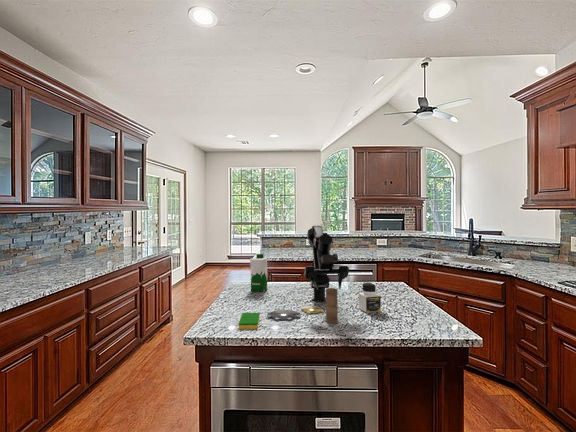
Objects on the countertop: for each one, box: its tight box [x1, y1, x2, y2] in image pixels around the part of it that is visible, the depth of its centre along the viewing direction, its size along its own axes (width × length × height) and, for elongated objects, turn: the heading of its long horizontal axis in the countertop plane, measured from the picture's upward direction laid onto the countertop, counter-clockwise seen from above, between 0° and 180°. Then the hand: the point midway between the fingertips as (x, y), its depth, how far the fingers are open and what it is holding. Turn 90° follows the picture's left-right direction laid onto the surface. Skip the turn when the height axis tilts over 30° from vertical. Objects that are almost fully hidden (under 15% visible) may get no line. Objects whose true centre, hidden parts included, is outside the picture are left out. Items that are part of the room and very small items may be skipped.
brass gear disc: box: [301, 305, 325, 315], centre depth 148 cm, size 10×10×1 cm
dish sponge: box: [238, 312, 261, 330], centre depth 133 cm, size 7×14×2 cm, turn 2°
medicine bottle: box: [358, 281, 382, 314], centre depth 148 cm, size 7×7×12 cm
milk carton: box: [249, 253, 268, 293], centre depth 188 cm, size 9×9×20 cm
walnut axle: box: [325, 287, 339, 325], centre depth 133 cm, size 4×4×13 cm
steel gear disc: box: [266, 308, 301, 322], centre depth 141 cm, size 14×14×1 cm
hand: (329, 288), depth 138 cm, fingers open, 9 cm apart
